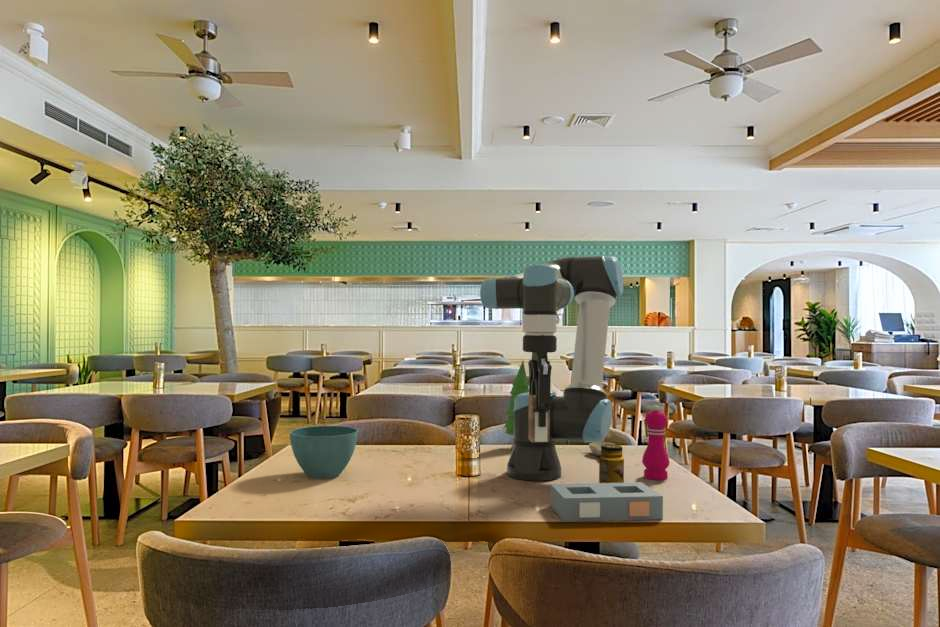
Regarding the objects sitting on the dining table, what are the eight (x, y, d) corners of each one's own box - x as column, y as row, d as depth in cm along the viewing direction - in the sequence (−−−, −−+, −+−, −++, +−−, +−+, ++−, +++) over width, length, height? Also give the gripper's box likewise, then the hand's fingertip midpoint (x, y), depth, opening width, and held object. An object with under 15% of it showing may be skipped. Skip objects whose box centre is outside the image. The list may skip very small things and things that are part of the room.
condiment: (630, 496, 155) (630, 447, 155) (598, 498, 153) (598, 449, 153) (616, 489, 162) (617, 442, 162) (586, 490, 160) (586, 443, 160)
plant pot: (276, 475, 173) (276, 430, 173) (332, 464, 186) (332, 423, 186) (313, 487, 160) (314, 439, 160) (370, 475, 174) (371, 430, 174)
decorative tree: (538, 448, 213) (538, 359, 214) (521, 452, 206) (522, 360, 206) (515, 444, 220) (515, 358, 220) (498, 448, 212) (499, 359, 213)
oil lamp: (611, 449, 214) (611, 419, 214) (622, 463, 193) (622, 430, 193) (585, 449, 214) (585, 419, 215) (593, 462, 193) (593, 430, 193)
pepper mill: (670, 481, 171) (671, 407, 171) (643, 479, 172) (643, 406, 173) (667, 475, 178) (668, 403, 178) (641, 473, 179) (641, 403, 180)
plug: (531, 442, 138) (532, 396, 138) (528, 439, 142) (528, 394, 142) (549, 442, 139) (550, 396, 139) (545, 438, 143) (546, 394, 143)
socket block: (564, 522, 134) (564, 499, 134) (550, 505, 147) (550, 484, 147) (663, 520, 137) (664, 496, 137) (641, 503, 149) (641, 482, 149)
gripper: (565, 335, 133) (564, 446, 132) (547, 333, 150) (547, 432, 149) (530, 335, 132) (529, 447, 132) (516, 333, 149) (515, 432, 149)
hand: (538, 439), depth 141 cm, fingers closed on plug, 4 cm apart
